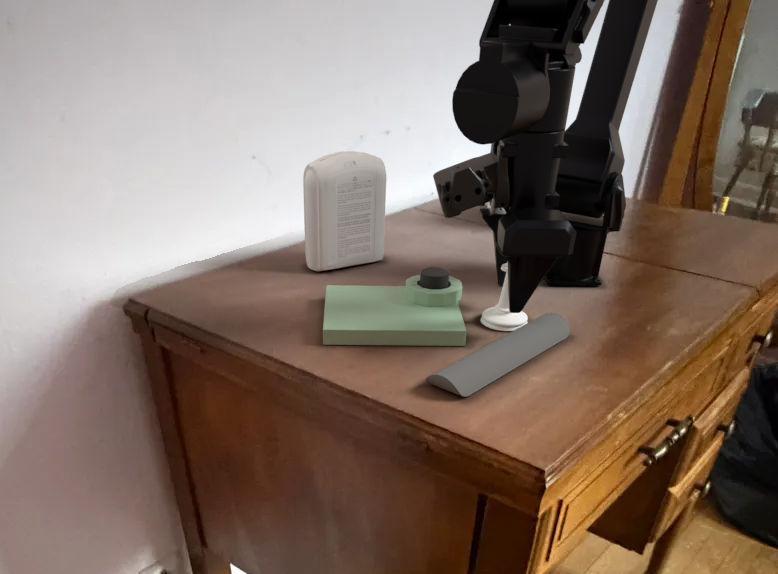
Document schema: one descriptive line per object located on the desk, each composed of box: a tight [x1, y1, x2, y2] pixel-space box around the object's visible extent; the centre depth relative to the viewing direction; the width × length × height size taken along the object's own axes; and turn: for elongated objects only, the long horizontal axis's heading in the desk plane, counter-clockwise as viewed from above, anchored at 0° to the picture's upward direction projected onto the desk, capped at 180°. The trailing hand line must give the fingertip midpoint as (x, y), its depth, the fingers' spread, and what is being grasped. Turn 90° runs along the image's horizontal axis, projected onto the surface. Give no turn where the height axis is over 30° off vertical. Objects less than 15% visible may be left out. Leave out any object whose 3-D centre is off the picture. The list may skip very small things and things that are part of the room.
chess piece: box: [480, 261, 529, 332], centre depth 73 cm, size 5×5×10 cm
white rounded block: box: [302, 150, 387, 272], centre depth 85 cm, size 10×4×12 cm, turn 123°
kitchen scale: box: [322, 274, 467, 347], centre depth 74 cm, size 14×12×3 cm
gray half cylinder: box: [424, 311, 571, 398], centre depth 68 cm, size 4×20×2 cm, turn 138°
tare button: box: [419, 266, 450, 289], centre depth 76 cm, size 3×3×2 cm
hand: (508, 298), depth 74 cm, fingers open, 7 cm apart
